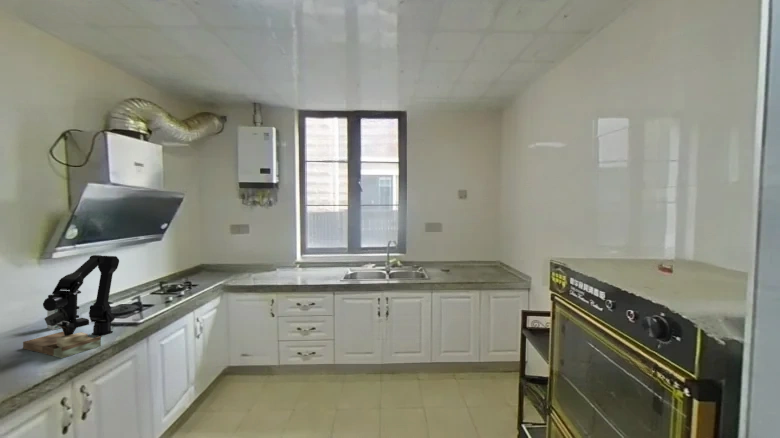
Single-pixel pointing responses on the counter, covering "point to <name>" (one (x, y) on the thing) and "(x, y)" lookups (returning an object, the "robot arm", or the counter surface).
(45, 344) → the trap deck
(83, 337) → the maple slab
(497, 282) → the counter surface
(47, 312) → the syrup box
